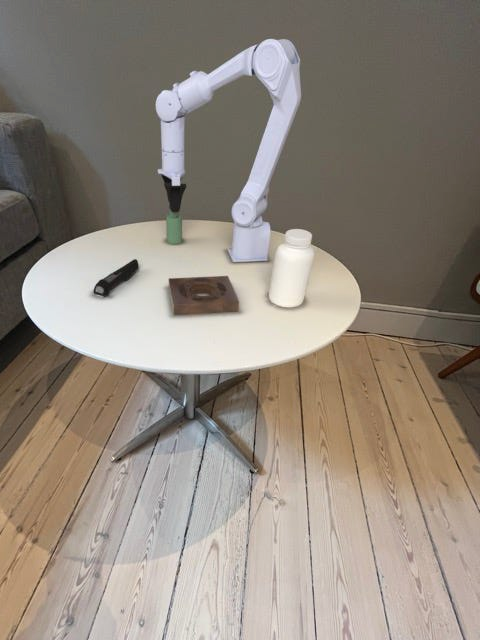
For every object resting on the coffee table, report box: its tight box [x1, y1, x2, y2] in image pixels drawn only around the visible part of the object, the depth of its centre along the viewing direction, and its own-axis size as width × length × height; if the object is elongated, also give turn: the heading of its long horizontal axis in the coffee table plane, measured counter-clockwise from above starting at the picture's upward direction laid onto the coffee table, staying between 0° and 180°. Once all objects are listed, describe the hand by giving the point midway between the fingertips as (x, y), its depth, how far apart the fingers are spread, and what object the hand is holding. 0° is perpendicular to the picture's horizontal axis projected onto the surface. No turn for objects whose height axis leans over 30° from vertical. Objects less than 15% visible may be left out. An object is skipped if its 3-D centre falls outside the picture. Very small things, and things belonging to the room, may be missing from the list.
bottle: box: [165, 204, 183, 245], centre depth 109 cm, size 4×4×10 cm
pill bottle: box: [268, 228, 315, 308], centre depth 83 cm, size 8×8×15 cm
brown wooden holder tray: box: [168, 275, 240, 316], centre depth 86 cm, size 14×12×2 cm
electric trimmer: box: [93, 258, 140, 298], centre depth 92 cm, size 4×16×3 cm, turn 153°
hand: (173, 207), depth 106 cm, fingers open, 7 cm apart
